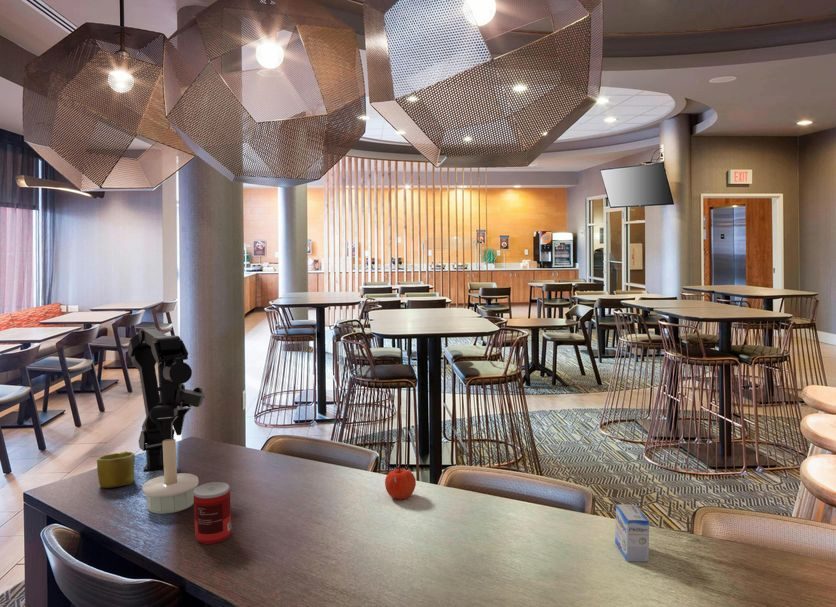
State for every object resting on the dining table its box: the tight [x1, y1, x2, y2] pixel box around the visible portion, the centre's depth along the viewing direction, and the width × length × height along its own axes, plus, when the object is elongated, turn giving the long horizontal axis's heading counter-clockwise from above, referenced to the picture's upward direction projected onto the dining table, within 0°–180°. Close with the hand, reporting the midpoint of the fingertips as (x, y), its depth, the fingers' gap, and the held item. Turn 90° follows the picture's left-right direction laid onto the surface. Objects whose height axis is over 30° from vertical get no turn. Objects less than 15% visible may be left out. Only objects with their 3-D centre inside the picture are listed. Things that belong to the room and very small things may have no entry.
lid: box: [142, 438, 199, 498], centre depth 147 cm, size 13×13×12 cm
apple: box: [384, 466, 417, 500], centre depth 150 cm, size 8×8×8 cm
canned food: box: [193, 481, 232, 545], centre depth 130 cm, size 8×8×11 cm
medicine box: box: [614, 504, 650, 563], centre depth 120 cm, size 8×4×9 cm, turn 178°
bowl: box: [146, 489, 194, 515], centre depth 147 cm, size 11×11×4 cm
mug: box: [96, 450, 136, 489], centre depth 163 cm, size 12×10×10 cm
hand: (174, 438), depth 160 cm, fingers open, 9 cm apart
